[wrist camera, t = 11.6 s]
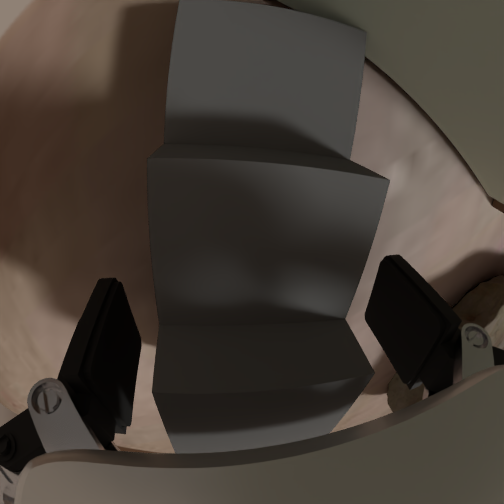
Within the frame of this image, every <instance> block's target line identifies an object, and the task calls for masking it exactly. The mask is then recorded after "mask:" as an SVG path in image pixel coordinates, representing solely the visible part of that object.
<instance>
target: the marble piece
mask: <svg viewBox="0 0 504 504" xmlns="http://www.w3.org/2000/svg"><path fill="white" fill-rule="evenodd" d="M452 310H453V311H454V312H455V313H456V314H457V315H458V316H459V318H460V319H461V320H462V322H461V324H460V325H459V327H458V328H459V329H460V330H461V329H462V327H463V326H464V325H465V324H468V323H473V324H477V325H479V326H481V327H482V328H483V329H485V330H486V332H487V333H488V334H489V336H490V338H491V342H492V346H494V347H497V348H500V349H502V350H504V276H498V277H494V278H492V279H491V280H490V281H487V282H482V283H480V284H479V285H478V286H477V287H476V288H475V289H474V290H472V291H470V292H469V293H467V294H466V295H465V296H464V297H463V299H462V300H461V301H460V302H459V303H458V304H457V305H456V306H455V307H454V308H453V309H452ZM388 386H389V390H388V393H387V396H388V400H387V401H388V405H389V406H390V408H391V410H392V411H393V412H396V411H398V410H401V409H403V408H406V407H408V406H410V405H412V404H415V403H417V402H419V401H421V400H422V398H423V393H424V387H425V386H424V384H423V383H422V384H421V385H420V386H418V387H416V388H414V389H411V390H409V388H408V386H407V384H404V383H403V382H402V381H401V379H400V377H399V375H398V374H397V372H396V374H395V375H394V377H393V378H392V380H391V382H390V383H389V384H388Z"/></svg>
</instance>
